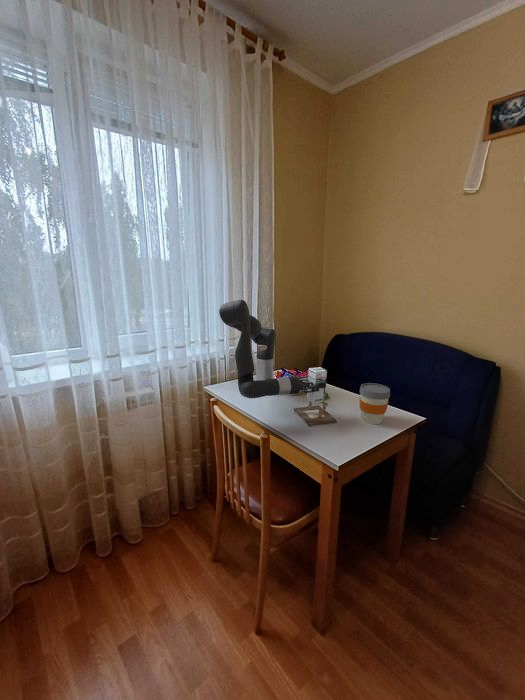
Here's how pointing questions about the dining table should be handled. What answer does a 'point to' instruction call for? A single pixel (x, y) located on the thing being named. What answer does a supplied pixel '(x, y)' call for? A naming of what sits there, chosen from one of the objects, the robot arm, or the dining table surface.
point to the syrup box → (317, 377)
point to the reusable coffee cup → (373, 402)
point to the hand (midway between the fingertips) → (321, 382)
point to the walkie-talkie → (325, 396)
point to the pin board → (315, 415)
